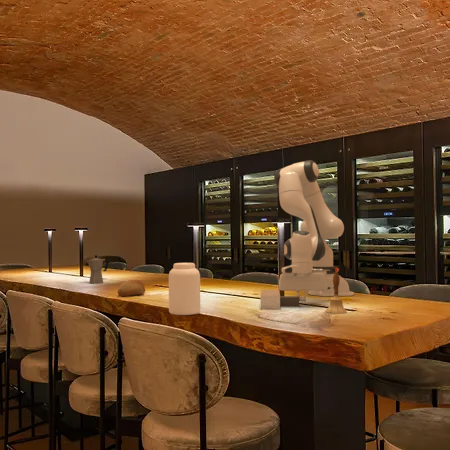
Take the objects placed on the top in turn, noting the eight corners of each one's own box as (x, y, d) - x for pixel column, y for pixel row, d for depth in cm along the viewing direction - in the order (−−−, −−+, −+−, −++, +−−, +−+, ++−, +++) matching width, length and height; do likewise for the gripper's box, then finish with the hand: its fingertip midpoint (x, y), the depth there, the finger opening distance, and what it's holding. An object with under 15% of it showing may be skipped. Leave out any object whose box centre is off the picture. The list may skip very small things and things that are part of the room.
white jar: (188, 316, 198) (187, 264, 198) (162, 314, 205) (162, 263, 205) (206, 312, 209) (206, 262, 209) (181, 309, 215) (181, 261, 216)
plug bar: (298, 305, 224) (298, 296, 224) (299, 306, 220) (299, 297, 220) (261, 305, 226) (261, 296, 226) (261, 306, 222) (261, 297, 222)
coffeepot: (89, 284, 327) (88, 255, 327) (83, 283, 335) (83, 255, 335) (112, 282, 336) (111, 255, 336) (106, 281, 344) (106, 254, 344)
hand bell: (347, 311, 208) (347, 271, 208) (345, 314, 200) (345, 272, 200) (327, 310, 210) (326, 270, 211) (324, 313, 203) (323, 272, 203)
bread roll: (149, 295, 267) (149, 279, 267) (123, 298, 258) (123, 281, 258) (140, 293, 275) (140, 278, 275) (114, 296, 265) (114, 280, 265)
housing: (279, 302, 233) (279, 289, 233) (280, 309, 213) (279, 295, 213) (261, 302, 234) (261, 289, 234) (260, 309, 214) (260, 295, 214)
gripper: (325, 268, 225) (326, 300, 224) (278, 268, 226) (278, 300, 226) (327, 269, 218) (327, 302, 218) (278, 269, 220) (279, 301, 220)
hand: (302, 301), depth 222 cm, fingers closed
